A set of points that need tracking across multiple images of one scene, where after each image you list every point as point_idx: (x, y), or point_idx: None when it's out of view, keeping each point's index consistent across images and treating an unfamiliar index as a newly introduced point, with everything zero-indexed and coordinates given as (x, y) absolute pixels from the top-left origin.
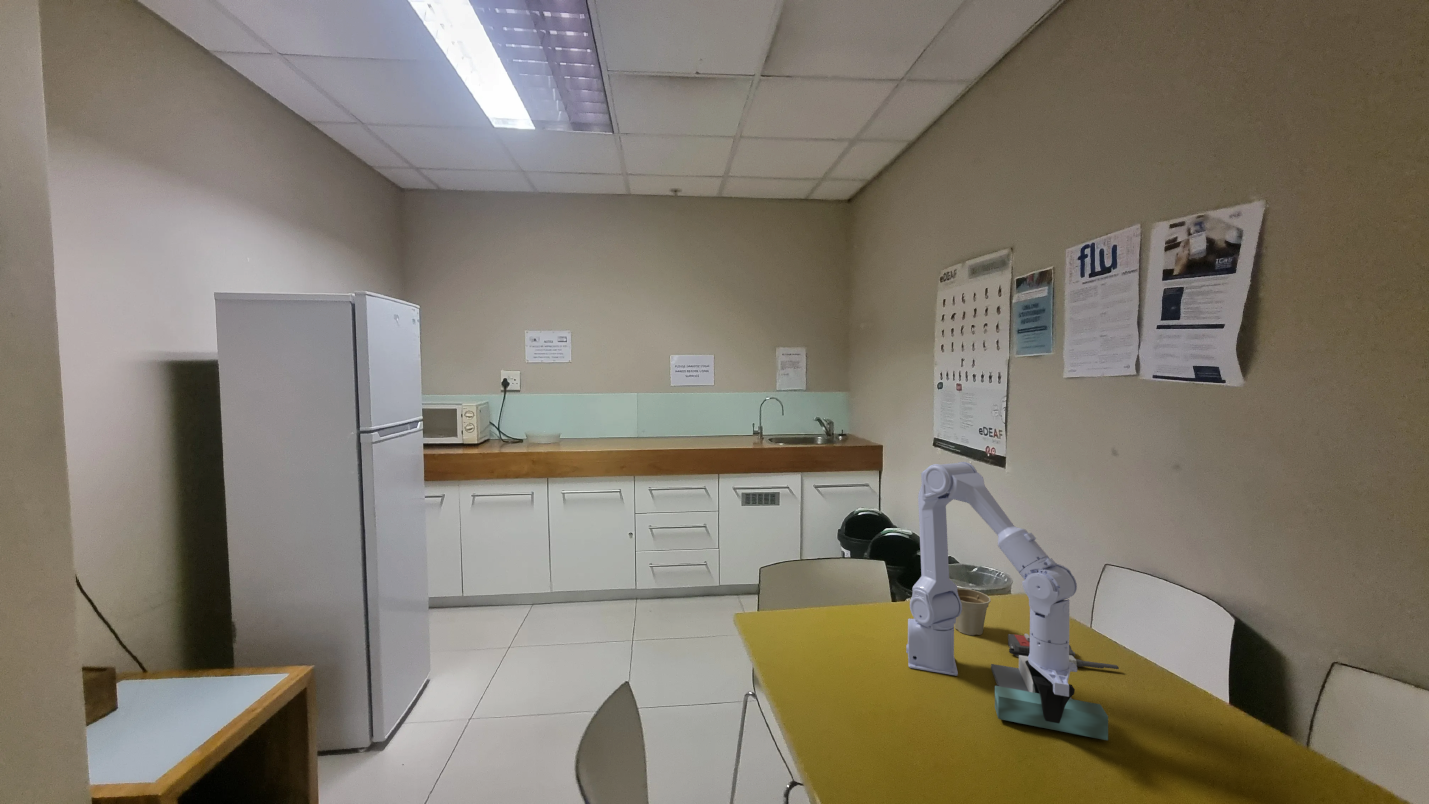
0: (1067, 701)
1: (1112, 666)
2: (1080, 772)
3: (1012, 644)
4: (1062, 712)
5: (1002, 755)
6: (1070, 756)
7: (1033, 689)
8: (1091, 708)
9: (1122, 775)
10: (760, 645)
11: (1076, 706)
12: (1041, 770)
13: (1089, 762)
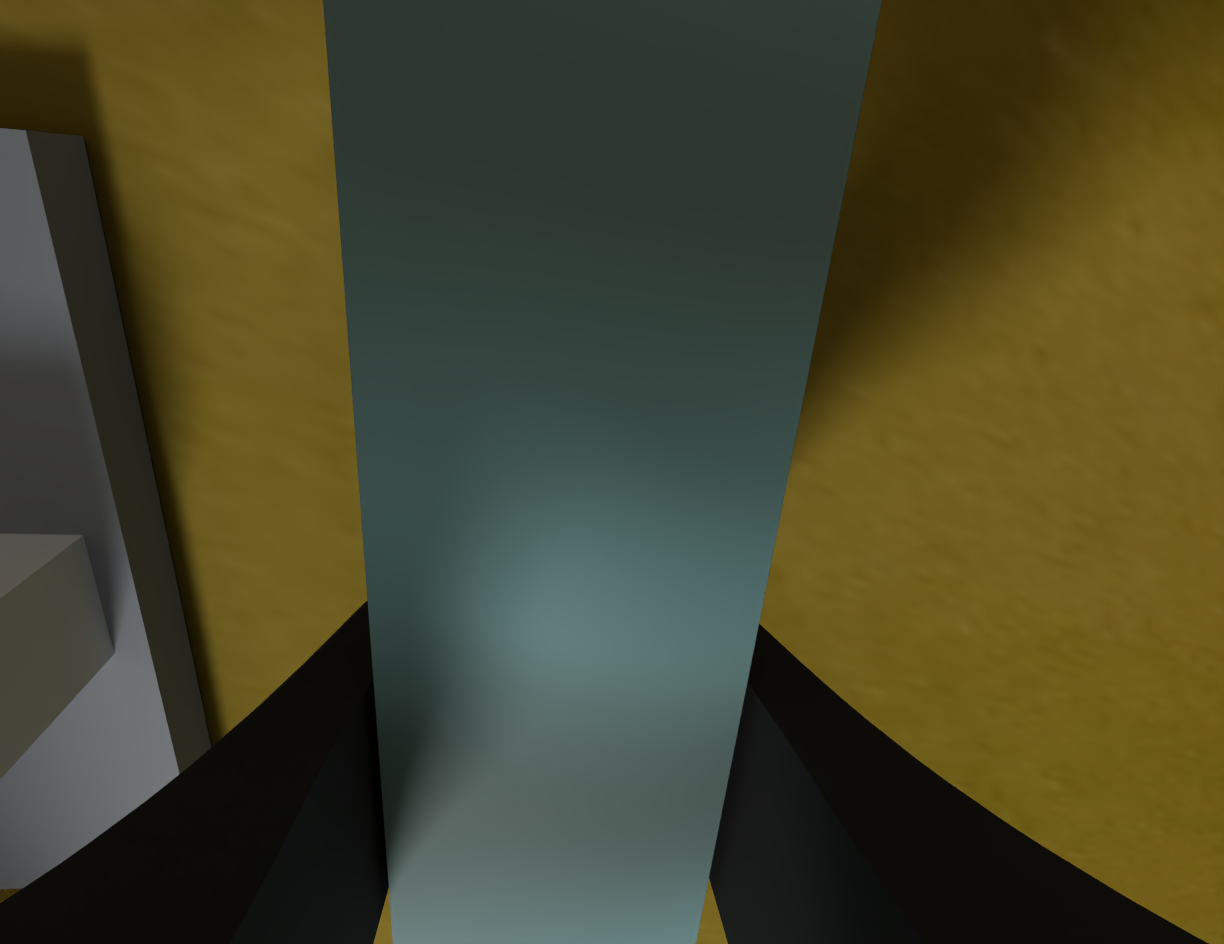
0: (1064, 860)
1: None
2: (1151, 496)
3: None
4: (829, 688)
5: None
6: (961, 507)
7: (20, 742)
8: (632, 147)
9: (1217, 122)
10: None
11: (628, 448)
12: (1117, 733)
13: (1034, 375)
